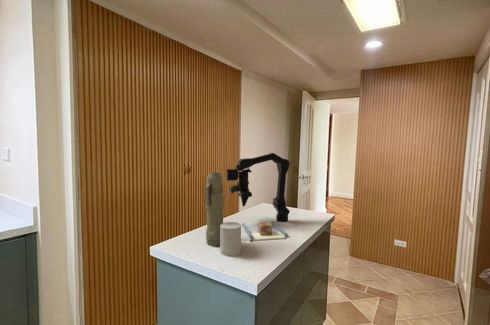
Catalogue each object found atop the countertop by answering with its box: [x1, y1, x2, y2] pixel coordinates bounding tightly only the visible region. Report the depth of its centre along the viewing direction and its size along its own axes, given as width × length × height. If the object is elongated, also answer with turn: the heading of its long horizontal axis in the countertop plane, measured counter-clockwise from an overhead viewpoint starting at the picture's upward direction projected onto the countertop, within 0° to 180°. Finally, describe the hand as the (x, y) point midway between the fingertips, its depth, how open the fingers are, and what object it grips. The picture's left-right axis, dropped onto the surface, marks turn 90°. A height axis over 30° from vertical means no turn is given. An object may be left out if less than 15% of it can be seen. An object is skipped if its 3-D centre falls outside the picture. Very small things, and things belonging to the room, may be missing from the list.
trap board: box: [241, 220, 288, 243], centre depth 146 cm, size 22×19×3 cm
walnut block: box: [257, 221, 273, 236], centre depth 142 cm, size 6×6×5 cm
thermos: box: [205, 171, 225, 247], centre depth 131 cm, size 9×12×35 cm
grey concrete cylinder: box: [219, 221, 242, 257], centre depth 121 cm, size 10×10×12 cm
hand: (243, 206), depth 158 cm, fingers closed
